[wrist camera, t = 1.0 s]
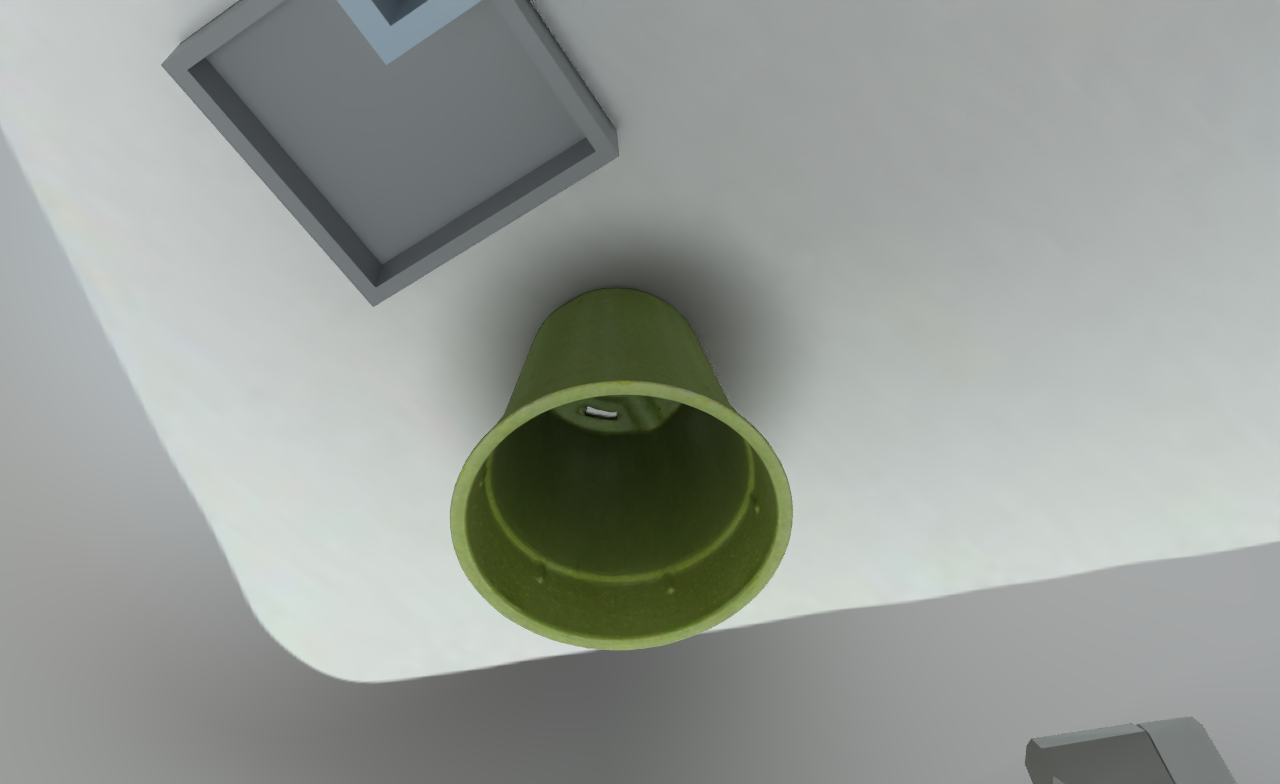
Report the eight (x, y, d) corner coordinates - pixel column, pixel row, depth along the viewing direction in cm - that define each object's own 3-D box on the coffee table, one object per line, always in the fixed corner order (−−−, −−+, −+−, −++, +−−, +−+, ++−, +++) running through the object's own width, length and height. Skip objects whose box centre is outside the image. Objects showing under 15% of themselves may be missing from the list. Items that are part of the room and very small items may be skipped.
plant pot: (726, 203, 46) (767, 352, 37) (768, 441, 53) (811, 619, 43) (436, 263, 47) (404, 424, 38) (512, 490, 54) (500, 676, 44)
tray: (434, -141, 39) (427, -127, 37) (616, 130, 44) (618, 155, 42) (181, 42, 42) (161, 65, 40) (381, 276, 47) (373, 306, 45)
